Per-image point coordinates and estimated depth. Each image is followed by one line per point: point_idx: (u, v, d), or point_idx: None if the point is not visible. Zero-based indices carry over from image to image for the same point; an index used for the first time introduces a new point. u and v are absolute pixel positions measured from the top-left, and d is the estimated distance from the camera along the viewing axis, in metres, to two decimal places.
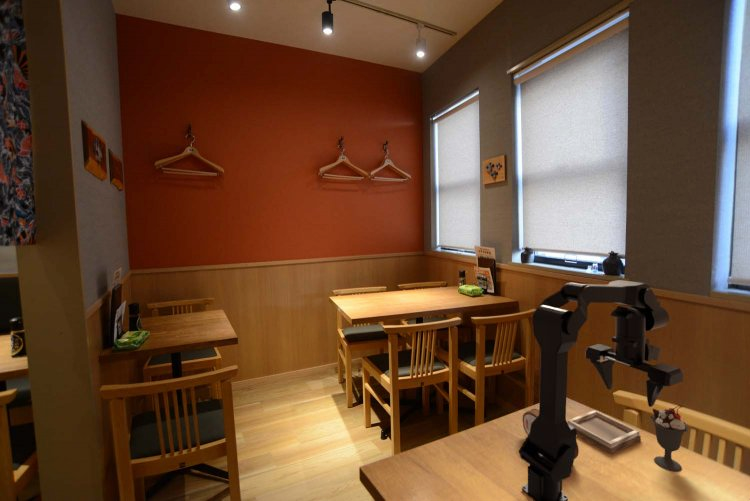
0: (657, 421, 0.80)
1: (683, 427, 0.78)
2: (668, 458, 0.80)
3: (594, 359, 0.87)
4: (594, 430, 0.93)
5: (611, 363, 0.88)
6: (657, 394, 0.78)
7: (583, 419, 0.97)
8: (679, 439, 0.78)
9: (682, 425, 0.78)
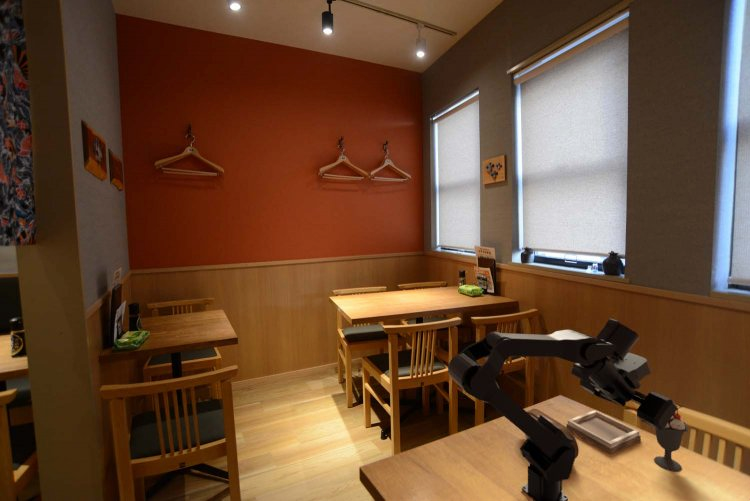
0: None
1: (683, 427, 0.78)
2: (668, 458, 0.80)
3: (591, 392, 0.82)
4: (594, 430, 0.93)
5: None
6: None
7: (583, 419, 0.97)
8: (679, 439, 0.78)
9: (682, 425, 0.78)
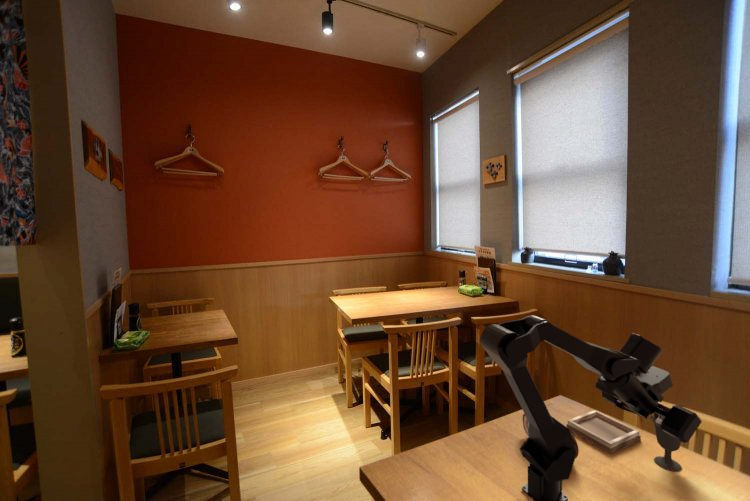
0: (657, 421, 0.80)
1: None
2: (668, 458, 0.80)
3: (613, 404, 0.84)
4: (594, 430, 0.93)
5: None
6: None
7: (583, 419, 0.97)
8: None
9: None
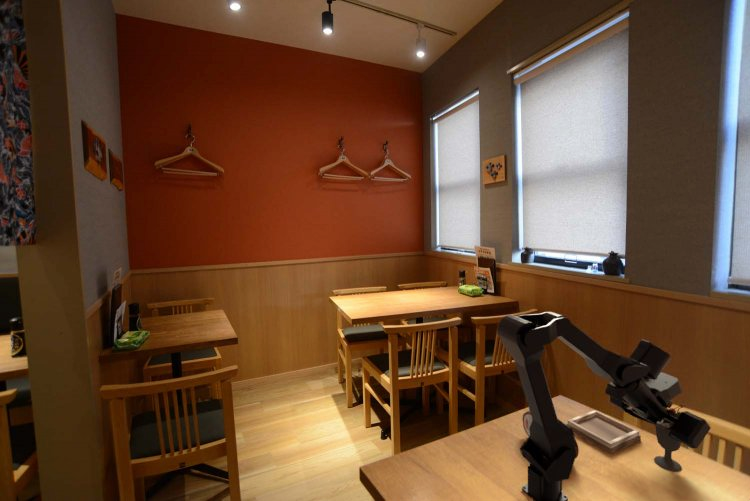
0: None
1: None
2: (668, 458, 0.80)
3: (621, 409, 0.85)
4: (594, 430, 0.93)
5: None
6: None
7: (583, 419, 0.97)
8: None
9: None
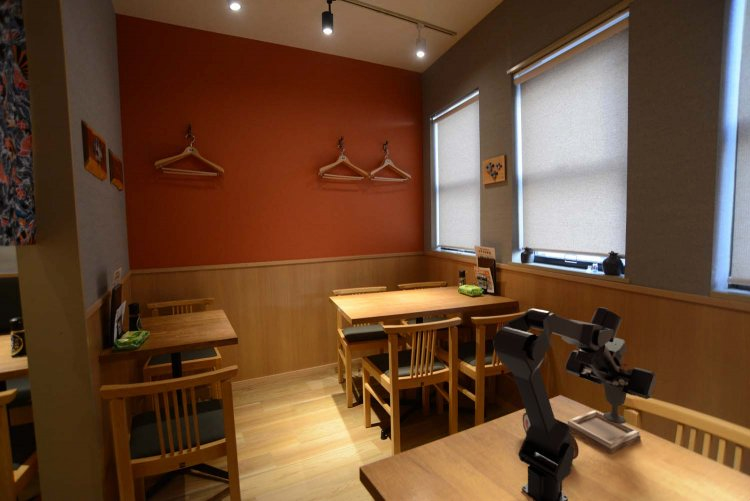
0: None
1: None
2: (615, 413, 0.90)
3: (576, 375, 0.92)
4: (594, 430, 0.93)
5: None
6: None
7: (583, 419, 0.97)
8: (625, 394, 0.88)
9: None
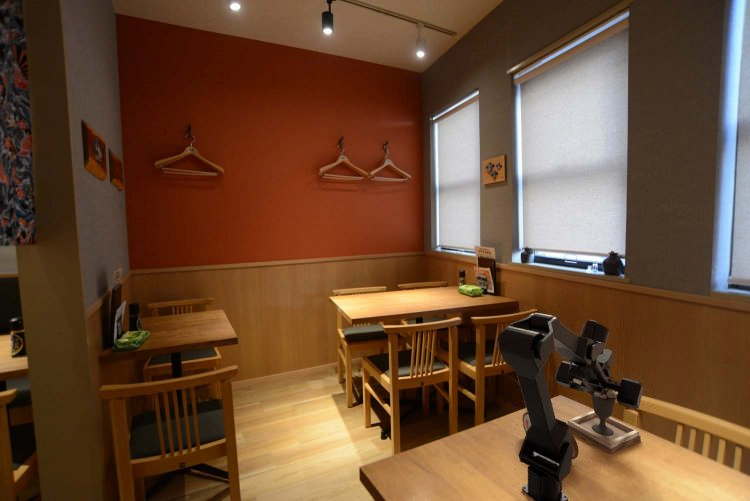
0: (596, 394, 0.91)
1: (615, 395, 0.90)
2: (603, 425, 0.92)
3: (566, 386, 0.93)
4: None
5: None
6: None
7: (583, 419, 0.97)
8: None
9: (615, 393, 0.90)
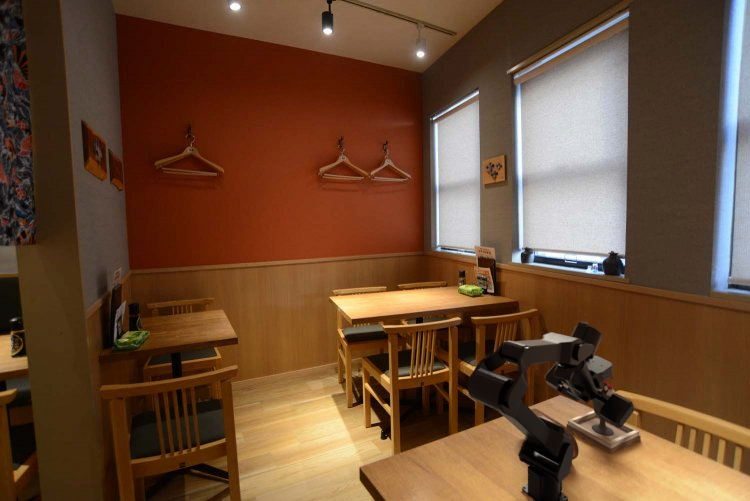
0: None
1: None
2: (603, 425, 0.92)
3: (554, 387, 0.88)
4: None
5: None
6: None
7: (583, 419, 0.97)
8: None
9: None
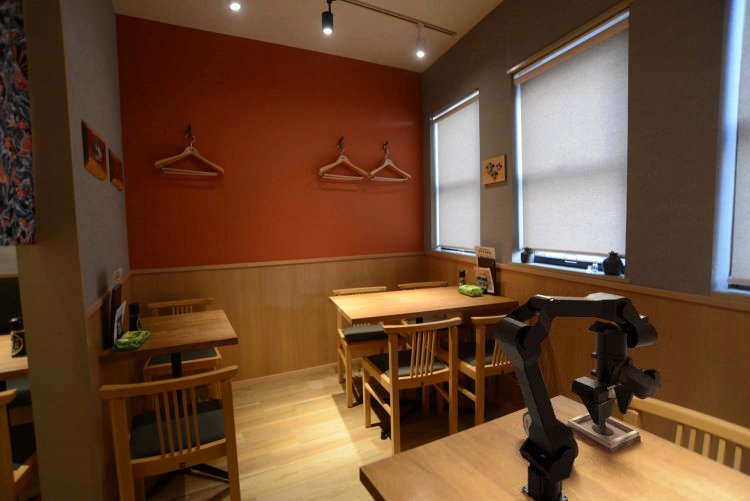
0: None
1: None
2: (603, 425, 0.92)
3: None
4: None
5: None
6: (594, 411, 0.75)
7: (583, 419, 0.97)
8: (613, 406, 0.90)
9: None
